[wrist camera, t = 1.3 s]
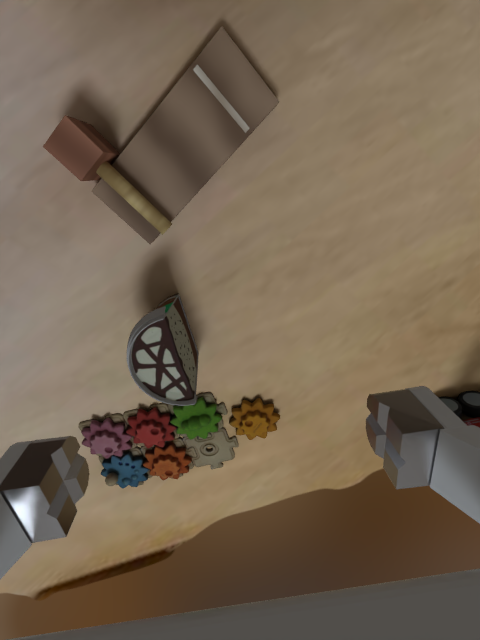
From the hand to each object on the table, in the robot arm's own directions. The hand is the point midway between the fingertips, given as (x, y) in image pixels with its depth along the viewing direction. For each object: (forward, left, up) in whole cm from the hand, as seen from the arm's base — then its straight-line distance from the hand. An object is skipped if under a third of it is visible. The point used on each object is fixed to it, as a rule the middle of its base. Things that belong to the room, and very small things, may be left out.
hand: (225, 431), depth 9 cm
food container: (+15, +4, -33) cm, 36 cm away
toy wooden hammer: (+4, -11, -33) cm, 35 cm away
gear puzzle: (+27, +19, -34) cm, 47 cm away
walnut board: (-3, -9, -33) cm, 34 cm away
